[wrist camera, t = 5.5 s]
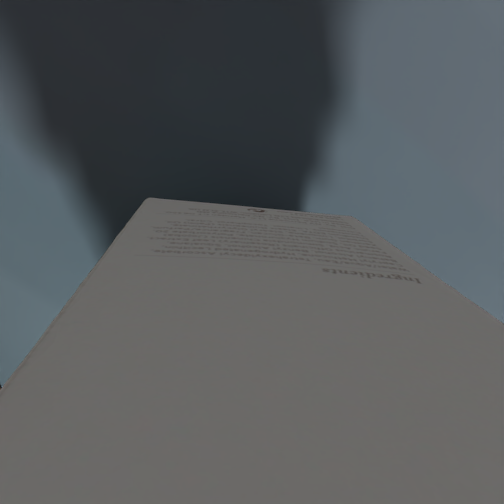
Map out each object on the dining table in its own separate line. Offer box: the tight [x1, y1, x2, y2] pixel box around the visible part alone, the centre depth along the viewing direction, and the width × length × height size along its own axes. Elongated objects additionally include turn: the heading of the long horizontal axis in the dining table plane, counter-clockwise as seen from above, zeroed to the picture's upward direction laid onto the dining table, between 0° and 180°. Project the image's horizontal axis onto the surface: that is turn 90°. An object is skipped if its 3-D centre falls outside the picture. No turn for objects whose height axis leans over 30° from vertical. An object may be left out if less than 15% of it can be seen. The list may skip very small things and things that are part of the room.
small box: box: [0, 198, 504, 504], centre depth 7 cm, size 8×6×10 cm
